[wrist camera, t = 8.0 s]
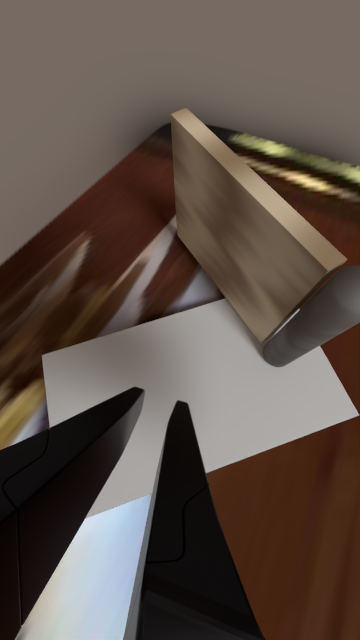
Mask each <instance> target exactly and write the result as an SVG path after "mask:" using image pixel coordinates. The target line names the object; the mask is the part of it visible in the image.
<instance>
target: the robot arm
mask: <svg viewBox="0 0 360 640" xmlns="http://www.w3.org/2000/svg"><path fill="white" fill-rule="evenodd" d="M144 396H145V390H144V389H142V388H139V387H132V388H130V389H128V390H126V391H124V392H122V393H120V394H118V395H116V396H114V397H112V398H110V399H107V400H105V401H103V402H101V403H99V404H97V405H95V406H93V407H91V408H89V409H87V410H85V411H83V412H81V413H79V414H77V415H75V416H73V417H71V418H69V419H67V420H65V421H63V422H61V423H59V424H56V425H54V426H52V427H51V428H50V430H49V429H46V430H44V431H42V432H40V433H38V434H36V435H34V436H32V437H29V438H27V439H25V440H23V441H21V442H19V443H16V444H14V445H12V446H9V447H7V448H4V449H2V450H0V640H15V638H16V636H17V634H18V633H19V631H20V629H21V625H23V624H24V622H25V620H26V619H27V617H28V615H29V614H30V612H31V610H32V608H33V607H34V605H35V603H36V602H37V600H38V598H39V596H40V595H41V593H42V591H43V590H44V588H45V586H46V584H47V583H48V581H49V579H50V578H51V576H52V574H53V572H54V571H55V569H56V567H57V566H58V564H59V562H60V560H61V559H62V557H63V555H64V554H65V552H66V550H67V548H68V547H69V545H70V543H71V542H72V540H73V538H74V536H75V535H76V533H77V531H78V530H79V528H80V526H81V524H82V523H83V521H84V519H85V518H86V516H87V514H88V512H89V511H90V509H91V507H92V506H93V504H94V502H95V500H96V499H97V497H98V495H99V494H100V492H101V490H102V488H103V487H104V485H105V483H106V482H107V480H108V478H109V477H110V475H111V473H112V471H113V470H114V468H115V466H116V465H117V463H118V461H119V459H120V458H121V456H122V454H123V452H124V450H125V448H126V446H127V443H128V441H129V439H130V436H131V434H132V432H133V430H134V427H135V425H136V423H137V421H138V418H139V416H140V414H141V411H142V407H143V401H144ZM123 640H265V638H264V636H263V634H262V632H261V630H260V628H259V626H258V624H257V621H256V619H255V617H254V614H253V612H252V609H251V607H250V604H249V601H248V599H247V596H246V593H245V591H244V588H243V585H242V583H241V580H240V577H239V575H238V572H237V569H236V567H235V564H234V561H233V559H232V556H231V553H230V551H229V548H228V545H227V543H226V540H225V537H224V534H223V531H222V528H221V525H220V522H219V520H218V516H217V513H216V509H215V506H214V502H213V499H212V495H211V491H210V487H209V483H208V479H207V475H206V471H205V467H204V464H203V460H202V456H201V452H200V448H199V444H198V440H197V436H196V432H195V428H194V424H193V420H192V416H191V412H190V408H189V405H188V403H187V402H183V401H180V400H177V401H176V404H175V406H174V408H173V411H172V413H171V416H170V418H169V421H168V424H167V428H166V433H165V437H164V441H163V446H162V450H161V454H160V458H159V463H158V467H157V471H156V476H155V481H154V486H153V491H152V496H151V501H150V506H149V512H148V517H147V522H146V527H145V532H144V537H143V542H142V547H141V552H140V557H139V562H138V567H137V572H136V577H135V582H134V587H133V592H132V597H131V602H130V607H129V613H128V618H127V623H126V628H125V633H124V638H123Z"/></svg>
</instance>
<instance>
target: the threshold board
mask: <svg viewBox="0 0 360 640" xmlns="http://www.w3.org/2000/svg"><path fill="white" fill-rule="evenodd" d="M298 311H299V309H298V310H297V311H296V312H295V313H294V314H293V315H292V316H291V317H290V318H289V319H288V321H289V320H290V319H291V318H292V317H293V316H294V315H295V314H296V313H297V312H298ZM288 321H287V322H288ZM287 322H286V323H287ZM286 323H285V324H286ZM285 324H284V325H285ZM284 325H283V326H284ZM283 326H282V327H283ZM282 327H281V328H282ZM281 328H280V329H281ZM280 329H279V330H280ZM279 330H278V331H279ZM278 331H277V332H278ZM277 332H276V333H277ZM276 333H275V334H276ZM275 334H274V335H275ZM274 335H273V336H274ZM273 336H272V337H273ZM272 337H270V338H269V339H267V340H266V341H264V342H262V343H260V342H259V340H258V339H257V338H256V336H255V335H254V334H253V333H252V331H251V330H250V329H249V327H248V326H247V325H246V323H245V322H244V321H243V320H242V318H241V317H240V316H239V314H238V313H237V312H236V310H235V309H234V308H233V307H232V305H231V304H230V303H229V301H228V300H227V299H226V298H225V299H222V300H218V301H215V302H212V303H209V304H206V305H202V306H199V307H196V308H193V309H189V310H186V311H183V312H180V313H176V314H173V315H170V316H167V317H164V318H160V319H157V320H154V321H151V322H147V323H144V324H141V325H138V326H134V327H131V328H128V329H125V330H122V331H118V332H115V333H112V334H109V335H105V336H102V337H99V338H96V339H92V340H89V341H86V342H83V343H79V344H76V345H73V346H70V347H67V348H63V349H60V350H57V351H54V352H50V353H47V354H44V355H42V362H43V371H44V379H45V388H46V397H47V406H48V415H49V424H50V428H51V427H52V426H54V425H56V424H59V423H61V422H63V421H65V420H67V419H69V418H71V417H73V416H75V415H77V414H79V413H81V412H83V411H85V410H87V409H89V408H91V407H93V406H95V405H97V404H99V403H101V402H103V401H105V400H107V399H110V398H112V397H114V396H116V395H118V394H120V393H122V392H124V391H126V390H128V389H130V388H132V387H139V388H142V389H144V390H145V396H144V401H143V407H142V411H141V414H140V416H139V418H138V421H137V423H136V425H135V427H134V430H133V432H132V434H131V436H130V439H129V441H128V443H127V446H126V448H125V450H124V452H123V454H122V456H121V458H120V459H119V461H118V463H117V465H116V466H115V468H114V470H113V471H112V473H111V475H110V477H109V478H108V480H107V482H106V483H105V485H104V487H103V488H102V490H101V492H100V494H99V495H98V497H97V499H96V500H95V502H94V504H93V506H92V507H91V509H90V511H89V512H88V514H87V516H86V518H88V517H90V516H93V515H96V514H98V513H101V512H104V511H106V510H109V509H112V508H114V507H117V506H120V505H122V504H125V503H128V502H130V501H133V500H135V499H138V498H141V497H143V496H146V495H149V494H151V493H152V491H153V486H154V481H155V476H156V471H157V467H158V463H159V458H160V454H161V450H162V446H163V441H164V437H165V433H166V428H167V424H168V421H169V418H170V416H171V413H172V411H173V408H174V406H175V404H176V401H177V400H180V401H183V402H187V403H188V405H189V408H190V412H191V416H192V420H193V424H194V428H195V432H196V436H197V440H198V444H199V448H200V452H201V456H202V460H203V464H204V467H205V471H206V473H207V472H210V471H212V470H215V469H218V468H220V467H223V466H226V465H228V464H231V463H234V462H236V461H239V460H242V459H244V458H247V457H250V456H252V455H255V454H258V453H260V452H263V451H265V450H268V449H271V448H273V447H276V446H279V445H281V444H284V443H287V442H289V441H292V440H295V439H297V438H300V437H303V436H305V435H308V434H311V433H313V432H316V431H319V430H321V429H324V428H327V427H329V426H332V425H334V424H337V423H340V422H342V421H345V420H348V419H350V418H353V417H356V416H358V415H359V414H358V412H357V410H356V409H355V407H354V405H353V403H352V402H351V400H350V398H349V396H348V395H347V393H346V391H345V389H344V387H343V386H342V384H341V382H340V380H339V379H338V377H337V375H336V373H335V372H334V370H333V368H332V366H331V365H330V363H329V361H328V359H327V358H326V356H325V354H324V352H323V350H322V349H321V347H320V346H318V347H316V348H315V349H313V350H311V351H309V352H308V353H306V354H304V355H303V356H301V357H299V358H297V359H296V360H294V361H292V362H291V363H289V364H287V365H285V366H283V367H274V366H272V365H270V364H269V363H268V362H267V361H266V360H265V358H264V356H263V348H264V346H265V344H266V343H267V342H268V341H269V340H270V339H271V338H272Z"/></svg>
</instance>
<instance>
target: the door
mask: <svg viewBox="0 0 360 640" xmlns="http://www.w3.org/2000/svg"><path fill="white" fill-rule="evenodd" d="M171 128H172V147H173V165H174V184H175V202H176V220H177V235H178V236H179V238H180V239H181V240H182V242H183V243H184V244H185V245H186V247H187V248H188V249H189V251H190V252H191V253H192V255H193V256H194V257H195V258H196V260H197V261H198V262H199V264H200V265H201V266H202V268H203V269H204V270H205V271H206V273H207V274H208V275H209V277H210V278H211V279H212V281H213V282H214V283H215V284H216V286H217V287H218V288H219V290H220V291H221V292H222V294H223V295H224V296H225V297H226V299H227V300H228V301H229V303H230V304H231V305H232V307H233V308H234V309H235V310H236V312H237V313H238V314H239V316H240V317H241V318H242V320H243V321H244V322H245V323H246V325H247V326H248V327H249V329H250V330H251V331H252V333H253V334H254V335H255V336H256V338H257V339H258V340H259V342H260V343H262V342H264V341H266V340H267V339H269V338H270V337H272V336H273V335H274V334H275V333H276V332H277V331H278V330H279V329H280V328H281V327H282V326H283V325H284V324H285V323H286V322H287V321H288V319H289V318H290V317H291V316H292V315H293V314H294V313H295V312H296V311H297V310H298V309H299V308H300V307H301V306H302V305H303V304H304V303H305V302H306V301H307V300H308V299H309V298H310V297H311V296H312V295H313V294H314V293H315V292H316V291H317V290H318V289H319V288H320V287H321V286H322V285H323V284H324V283H325V282H326V281H327V280H328V279H329V278H330V277H331V276H332V275H333V274H334V273H335V272H336V271H337V270H338V269H339V267H340V266H341V265H342V264H343V263H344V262H345V261H346V260H347V259H346V258H345V257H344V256H343V255H342V254H341V253H340V252H339V251H338V250H337V249H336V248H335V247H334V246H332V245H331V244H330V243H329V242H328V241H327V240H326V239H325V238H324V237H323V236H322V235H321V234H320V233H319V232H318V231H317V230H315V229H314V228H313V227H312V226H311V225H310V224H309V223H308V222H307V221H306V220H305V219H304V218H303V217H302V216H301V215H300V214H298V213H297V212H296V211H295V210H294V209H293V208H292V207H291V206H290V205H289V204H288V203H287V202H286V201H285V200H284V199H283V198H281V197H280V196H279V195H278V194H277V193H276V192H275V191H274V190H273V189H272V188H271V187H270V186H269V185H268V184H267V183H266V182H264V181H263V180H262V179H261V178H260V177H259V176H258V175H257V174H256V173H255V172H254V171H253V170H252V169H251V168H250V167H248V166H247V165H246V164H245V163H244V162H243V161H242V160H241V159H240V158H239V157H238V156H237V155H236V154H235V153H234V152H233V151H231V150H230V149H229V148H228V147H227V146H226V145H225V144H224V143H223V142H222V141H221V140H220V139H219V138H218V137H217V136H216V135H214V134H213V133H212V132H211V131H210V130H209V129H208V128H207V127H206V126H205V125H204V124H203V123H202V122H201V121H200V120H199V119H197V118H196V117H195V116H194V115H193V114H192V113H191V112H190V111H189V110H188V109H187V108H185V109H182V110H180V111H177V112H175V113H172V114H171ZM359 322H360V266H347V267H344V268H342V269H341V270H339V271H338V272H337V273H336V274H335V275H334V276H333V277H332V278H331V279H330V280H329V281H328V282H327V283H326V284H325V285H324V286H323V287H322V288H321V289H320V290H319V291H318V292H317V293H316V294H315V295H314V296H313V297H312V298H311V299H310V300H309V301H308V302H307V303H306V304H305V305H304V306H303V307H302V308H301V309H300V310H299V311H298V312H297V313H296V314H295V315H294V316H293V317H292V318H291V319H290V320H289V321H288V322H287V323H286V324H285V325H284V326H283V327H282V328H281V329H280V330H279V331H278V332H277V333H276V334H275V335H274V336H273V337H272V338H271V339H270V340H269V341H268V342H267V343H266V344H265V346H264V348H263V356H264V358H265V360H266V361H267V362H268V363H269V364H270V365H272V366H274V367H283V366H285V365H287V364H289V363H291V362H292V361H294V360H296V359H297V358H299V357H301V356H303V355H304V354H306V353H308V352H309V351H311V350H313V349H315V348H316V347H318V346H320V345H321V344H323V343H325V342H327V341H328V340H330V339H332V338H334V337H335V336H337V335H339V334H340V333H342V332H344V331H346V330H347V329H349V328H351V327H352V326H354V325H356V324H358V323H359Z"/></svg>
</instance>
